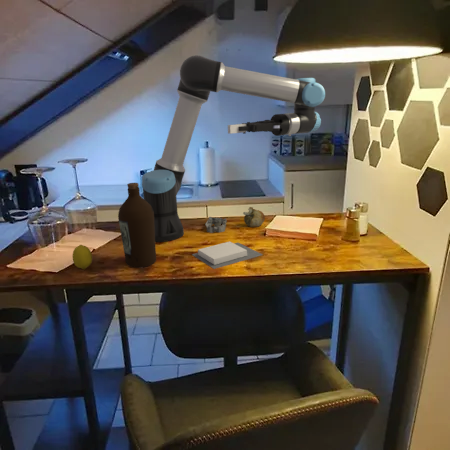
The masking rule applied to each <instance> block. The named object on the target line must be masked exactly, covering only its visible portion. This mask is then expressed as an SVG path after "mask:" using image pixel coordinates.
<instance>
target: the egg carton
mask: <svg viewBox="0 0 450 450" xmlns="http://www.w3.org/2000/svg"><path fill="white" fill-rule="evenodd" d="M227 221H228V220H227V218H226V217H225V218H222V217H212V216H208V219H207V220H206V223H205V226H206V232H207V233H210V234H213V233H219V234H220V233H224V232H226V227H227ZM213 224H214V225H213ZM221 224H222V225H221Z"/></svg>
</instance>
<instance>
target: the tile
mask: <svg viewBox="0 0 450 450" xmlns="http://www.w3.org/2000/svg"><path fill="white" fill-rule="evenodd" d="M234 243H235V242H232V241H226V242H222V243H218V244H215V245H211V246H207V247H202V248H199V249H197V253H198V255H199V256H201V257H203V258H204V259H206V260H207V261H209V262H211V263H212V264H214V265H216V264H219V263H223V262H227V261H230V260H234V259H237V258H241V257H244V256H247V250H246V249H244V248H242V247H240V246H238V245H236V244H234Z"/></svg>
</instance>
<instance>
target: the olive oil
mask: <svg viewBox="0 0 450 450" xmlns="http://www.w3.org/2000/svg"><path fill="white" fill-rule="evenodd" d="M127 194H128V197H127V198H126V199H125V201H123V203H122V204H121V205H120V208H119V209H118V213H117V215H118V216H117V217H118V224H119V230H120V234H121V240H122V241H121V243H122V245H123V247H122V248H123V253H124V259H125V264H126V265H127V266H128V267H131V268H145V267H148V266H151V265H153V264H155V263H156V262H157V255H156V254H157V250H156V242H155V227H154V212H153V209H152V207H151V205H150V204H149V203H148V202H147V201H145V200H144V197H142V196H141V194H140V187H139V182H129V183H127Z"/></svg>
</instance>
